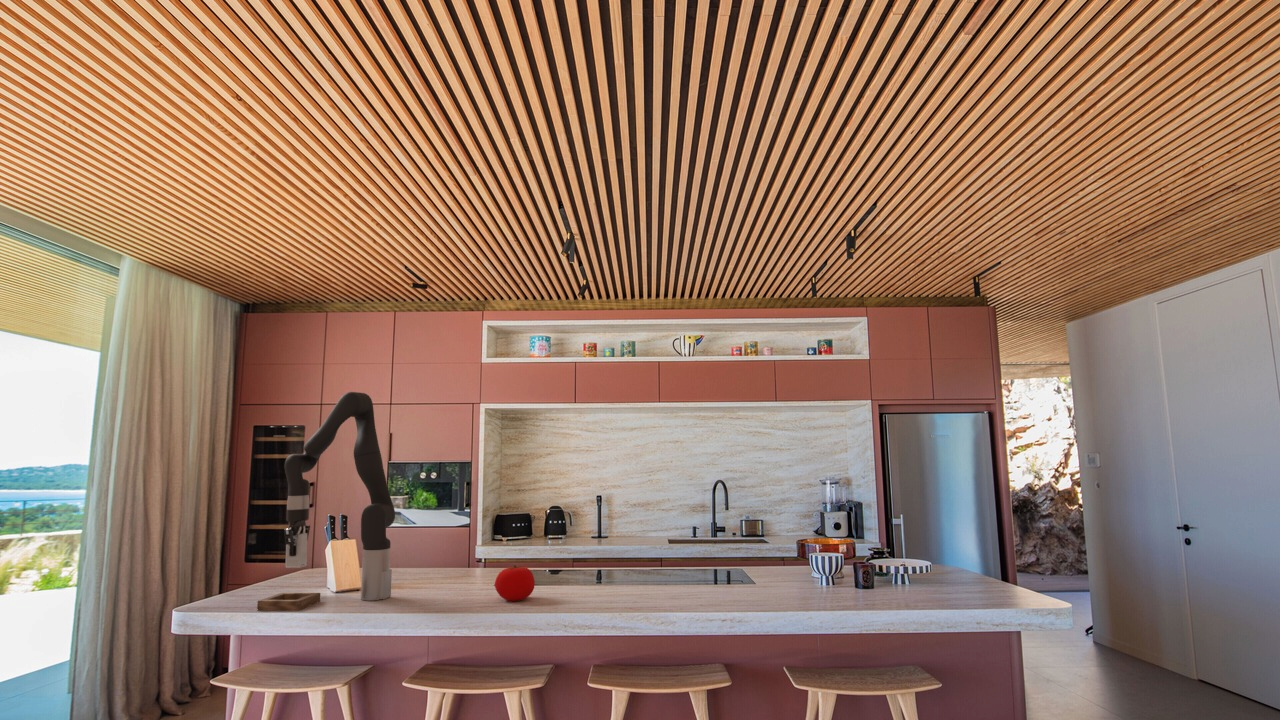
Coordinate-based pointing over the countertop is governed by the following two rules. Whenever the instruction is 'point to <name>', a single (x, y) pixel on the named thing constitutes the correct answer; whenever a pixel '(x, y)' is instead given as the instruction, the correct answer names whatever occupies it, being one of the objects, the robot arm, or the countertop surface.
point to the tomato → (515, 583)
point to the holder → (288, 601)
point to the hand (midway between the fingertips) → (296, 554)
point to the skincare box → (298, 553)
